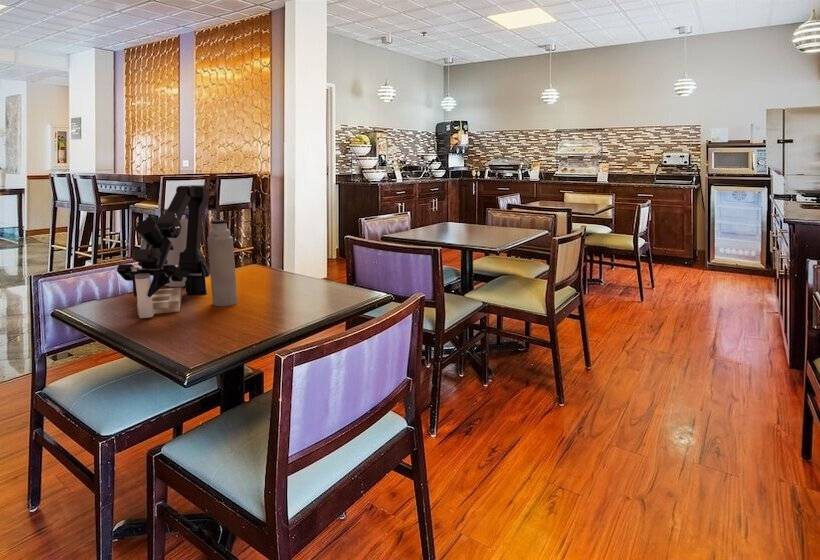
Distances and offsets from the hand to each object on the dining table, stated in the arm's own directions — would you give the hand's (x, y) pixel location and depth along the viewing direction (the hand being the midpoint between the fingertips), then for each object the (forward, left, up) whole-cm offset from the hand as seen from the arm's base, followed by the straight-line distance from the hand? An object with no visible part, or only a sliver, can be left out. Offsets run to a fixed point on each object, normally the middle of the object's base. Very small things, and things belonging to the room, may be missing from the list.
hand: (141, 296), depth 162 cm
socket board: (-4, -16, -7) cm, 18 cm away
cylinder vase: (-9, -49, -7) cm, 51 cm away
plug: (-1, -1, -7) cm, 7 cm away
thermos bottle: (-24, -12, -7) cm, 28 cm away
